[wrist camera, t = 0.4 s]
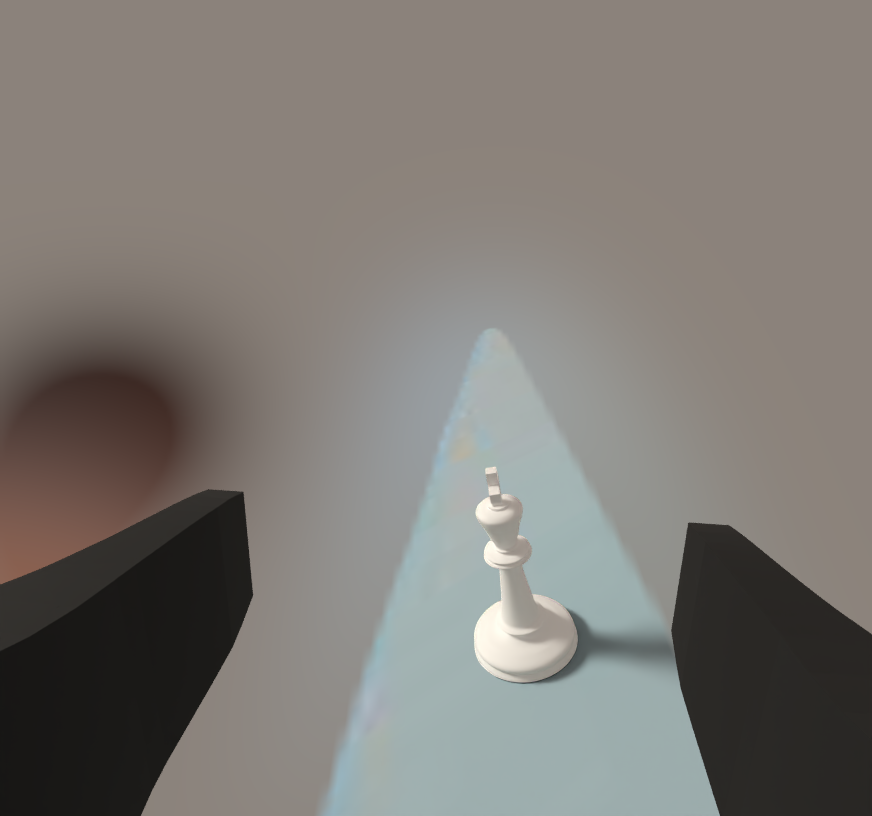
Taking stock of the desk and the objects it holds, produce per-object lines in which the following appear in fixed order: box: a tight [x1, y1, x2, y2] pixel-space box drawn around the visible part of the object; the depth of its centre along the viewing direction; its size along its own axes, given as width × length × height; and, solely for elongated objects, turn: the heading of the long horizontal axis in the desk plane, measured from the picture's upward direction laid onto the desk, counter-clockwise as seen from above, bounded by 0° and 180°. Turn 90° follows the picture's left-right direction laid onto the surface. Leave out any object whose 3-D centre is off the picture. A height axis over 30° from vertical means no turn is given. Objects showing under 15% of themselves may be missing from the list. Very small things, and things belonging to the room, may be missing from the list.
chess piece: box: [474, 467, 578, 683], centre depth 33 cm, size 5×5×10 cm
